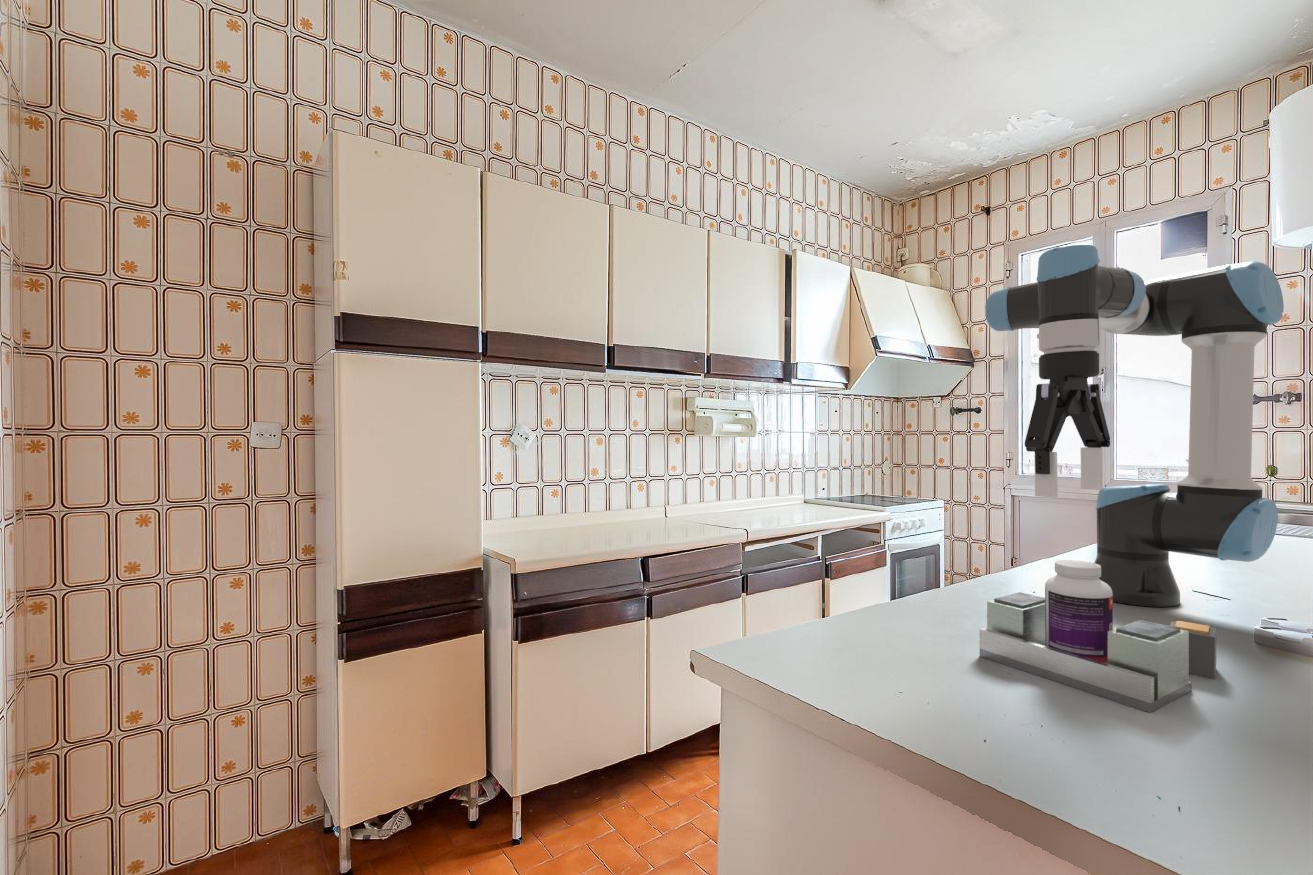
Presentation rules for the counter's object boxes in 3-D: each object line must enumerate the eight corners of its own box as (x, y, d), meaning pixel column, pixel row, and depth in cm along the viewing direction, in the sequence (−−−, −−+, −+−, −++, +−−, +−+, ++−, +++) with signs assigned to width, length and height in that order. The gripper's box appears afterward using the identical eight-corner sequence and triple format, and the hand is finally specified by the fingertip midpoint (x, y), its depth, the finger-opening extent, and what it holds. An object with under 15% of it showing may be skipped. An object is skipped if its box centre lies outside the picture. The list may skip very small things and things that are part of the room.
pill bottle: (1125, 676, 83) (1125, 571, 83) (1059, 672, 85) (1059, 569, 85) (1095, 654, 91) (1095, 558, 91) (1036, 651, 93) (1036, 557, 93)
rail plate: (1023, 641, 100) (1023, 589, 100) (1191, 690, 81) (1191, 626, 81) (979, 656, 94) (979, 600, 94) (1150, 712, 75) (1150, 643, 75)
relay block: (1171, 660, 92) (1171, 618, 92) (1216, 669, 88) (1216, 625, 88) (1167, 670, 88) (1167, 626, 88) (1214, 680, 85) (1214, 634, 85)
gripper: (1081, 357, 101) (1082, 484, 102) (996, 351, 88) (998, 497, 89) (1135, 351, 95) (1136, 488, 95) (1051, 345, 82) (1053, 502, 82)
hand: (1069, 493), depth 92 cm, fingers open, 13 cm apart
